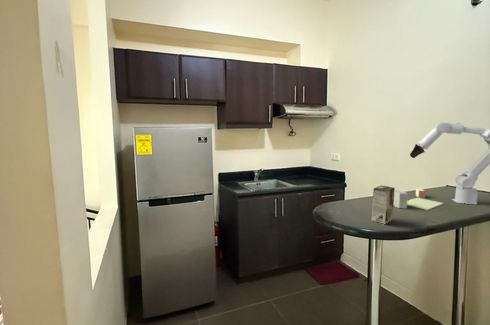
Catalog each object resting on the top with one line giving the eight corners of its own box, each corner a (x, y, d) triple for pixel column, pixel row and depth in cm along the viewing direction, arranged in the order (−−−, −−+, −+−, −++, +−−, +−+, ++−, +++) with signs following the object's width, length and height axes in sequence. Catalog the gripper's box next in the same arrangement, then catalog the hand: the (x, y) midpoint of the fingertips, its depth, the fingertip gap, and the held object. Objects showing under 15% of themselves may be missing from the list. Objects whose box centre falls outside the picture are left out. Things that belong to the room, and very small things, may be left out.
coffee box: (378, 216, 127) (380, 185, 125) (392, 220, 122) (395, 187, 120) (370, 221, 121) (373, 187, 119) (385, 225, 116) (387, 190, 114)
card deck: (421, 195, 166) (421, 189, 166) (424, 198, 160) (425, 191, 160) (415, 195, 167) (416, 188, 167) (418, 197, 161) (419, 190, 161)
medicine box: (407, 208, 139) (408, 193, 138) (398, 208, 140) (400, 193, 138) (398, 204, 147) (399, 189, 146) (390, 204, 147) (392, 189, 146)
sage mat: (416, 198, 159) (416, 197, 159) (443, 204, 148) (443, 203, 148) (400, 203, 149) (400, 202, 149) (428, 210, 137) (428, 209, 137)
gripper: (423, 137, 162) (406, 153, 167) (422, 133, 151) (404, 151, 155) (433, 144, 159) (416, 160, 163) (433, 140, 147) (415, 158, 152)
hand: (411, 156), depth 159 cm, fingers open, 7 cm apart
